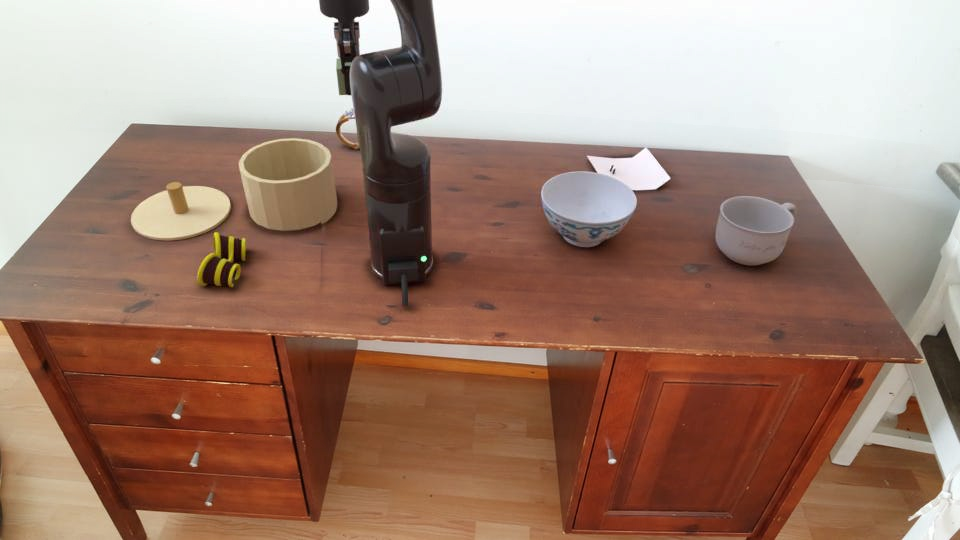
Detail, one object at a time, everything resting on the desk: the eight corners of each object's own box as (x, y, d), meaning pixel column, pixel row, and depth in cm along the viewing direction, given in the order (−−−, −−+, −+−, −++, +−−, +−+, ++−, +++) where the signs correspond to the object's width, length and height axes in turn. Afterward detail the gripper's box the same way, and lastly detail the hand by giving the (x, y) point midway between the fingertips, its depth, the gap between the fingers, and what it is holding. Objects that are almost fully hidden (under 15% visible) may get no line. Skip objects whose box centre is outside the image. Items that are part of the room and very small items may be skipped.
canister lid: (225, 239, 104) (217, 208, 101) (122, 247, 102) (110, 215, 98) (236, 188, 116) (229, 159, 112) (144, 194, 114) (133, 164, 110)
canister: (337, 229, 107) (331, 179, 101) (245, 236, 105) (233, 185, 99) (337, 183, 118) (331, 136, 112) (253, 188, 116) (243, 140, 110)
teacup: (732, 279, 100) (747, 236, 95) (696, 238, 109) (708, 197, 103) (809, 266, 104) (827, 224, 99) (768, 227, 112) (783, 187, 107)
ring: (375, 145, 130) (372, 108, 125) (371, 153, 127) (368, 115, 122) (341, 142, 130) (337, 105, 125) (336, 150, 128) (332, 112, 123)
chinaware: (646, 252, 105) (655, 212, 100) (562, 271, 101) (568, 231, 96) (599, 203, 116) (606, 165, 111) (522, 219, 111) (525, 180, 106)
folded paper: (585, 160, 128) (586, 151, 126) (644, 156, 130) (646, 147, 128) (606, 193, 118) (608, 184, 117) (669, 188, 121) (671, 179, 119)
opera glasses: (235, 296, 95) (235, 270, 92) (197, 292, 94) (196, 265, 91) (249, 255, 103) (250, 230, 100) (214, 251, 102) (213, 225, 99)
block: (366, 94, 108) (364, 68, 106) (339, 95, 108) (336, 68, 105) (366, 83, 112) (363, 57, 109) (339, 84, 111) (336, 58, 108)
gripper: (318, -33, 104) (330, 72, 115) (315, -5, 93) (329, 107, 104) (366, -33, 105) (373, 70, 116) (368, -6, 94) (376, 105, 105)
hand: (352, 87), depth 110 cm, fingers closed on block, 4 cm apart
